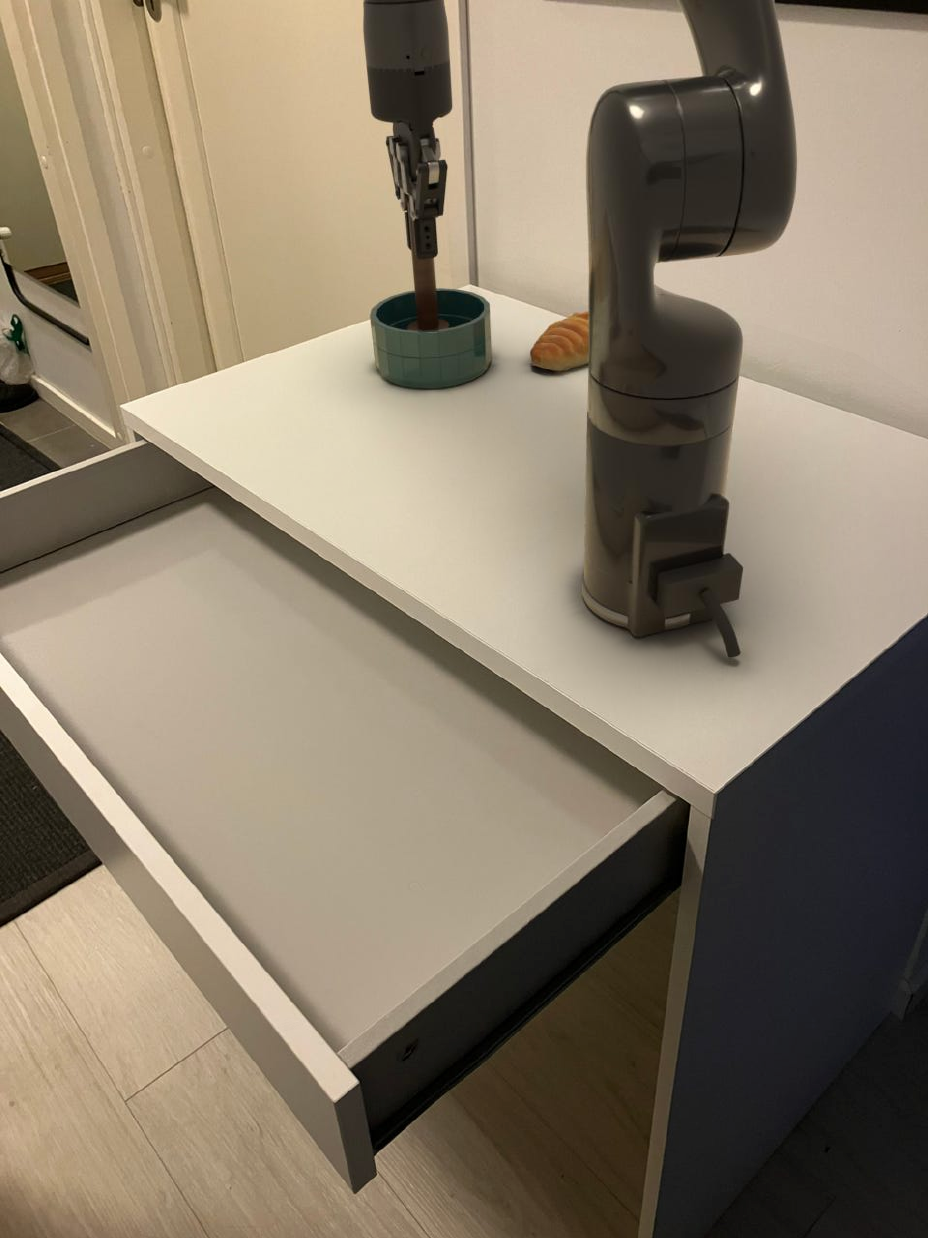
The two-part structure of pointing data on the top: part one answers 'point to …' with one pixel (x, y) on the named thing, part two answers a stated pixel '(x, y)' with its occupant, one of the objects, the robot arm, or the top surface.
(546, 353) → the pastry
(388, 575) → the top surface
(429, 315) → the stick
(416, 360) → the bowl
